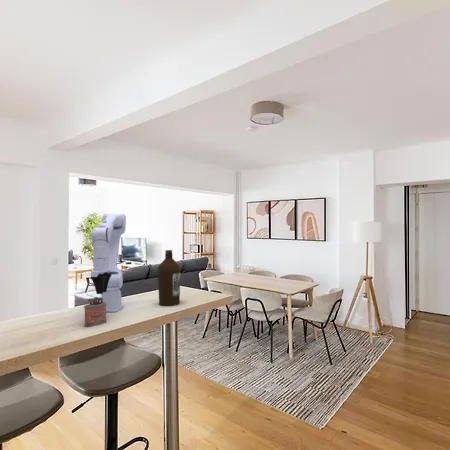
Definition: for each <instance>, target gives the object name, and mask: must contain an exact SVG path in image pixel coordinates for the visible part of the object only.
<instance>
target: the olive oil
mask: <svg viewBox="0 0 450 450" xmlns="http://www.w3.org/2000/svg"><path fill="white" fill-rule="evenodd" d="M164 255H165V256H164V259H163V260H162V262H161V263H160V264H159V265H158V267H157V272H156V273H157V282H158V303H159V305H160V306H162V307H163V306H164V307H173V306H177V305H179V304H180V301H181V300H180V299H181V298H180V296H181V295H180V294H181V267H180V265H179V264H178V262H176V260H174V258H173V250H172V249H166V250H165V251H164Z"/></svg>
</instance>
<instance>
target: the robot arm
mask: <svg viewBox="0 0 450 450" xmlns="http://www.w3.org/2000/svg"><path fill="white" fill-rule="evenodd" d="M126 225H127V217H126V215H125V213H110V214H109V213H103V215H102V217H101V222H100V223H99V224H98V226H97V227H94V228H92V229H91V230H90V231H91V232H90V238H91V244H92V247H93V253H92V254H93V255H92V256H93V263H92V265H93V269H92V271H90V280H91V282H93V286H94V288H95V292H96V294H97V295H101V297H103V302H106V313H111V312H112V313H116V312H118V311H120V309H122V308H124V305H122V292H121V290H120V289H121V288H122V287H123V282H124V278H123V277H124V276H123V274H124V273H123V270H121V269H120V268H119V267H118V260H119V250H120V240H121V237H122V235H123V234H125V231H126V228H127V227H126Z"/></svg>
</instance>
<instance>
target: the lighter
mask: <svg viewBox="0 0 450 450" xmlns="http://www.w3.org/2000/svg"><path fill="white" fill-rule="evenodd" d="M85 303H86V305H84V306H83V308H84V324H83V325H84V327H85V328H90V327H96V326H100V325H104V324H107V312H106V302H103V297H102V296H99V297H98V296H95V297H92V298H86V299H85Z"/></svg>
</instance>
